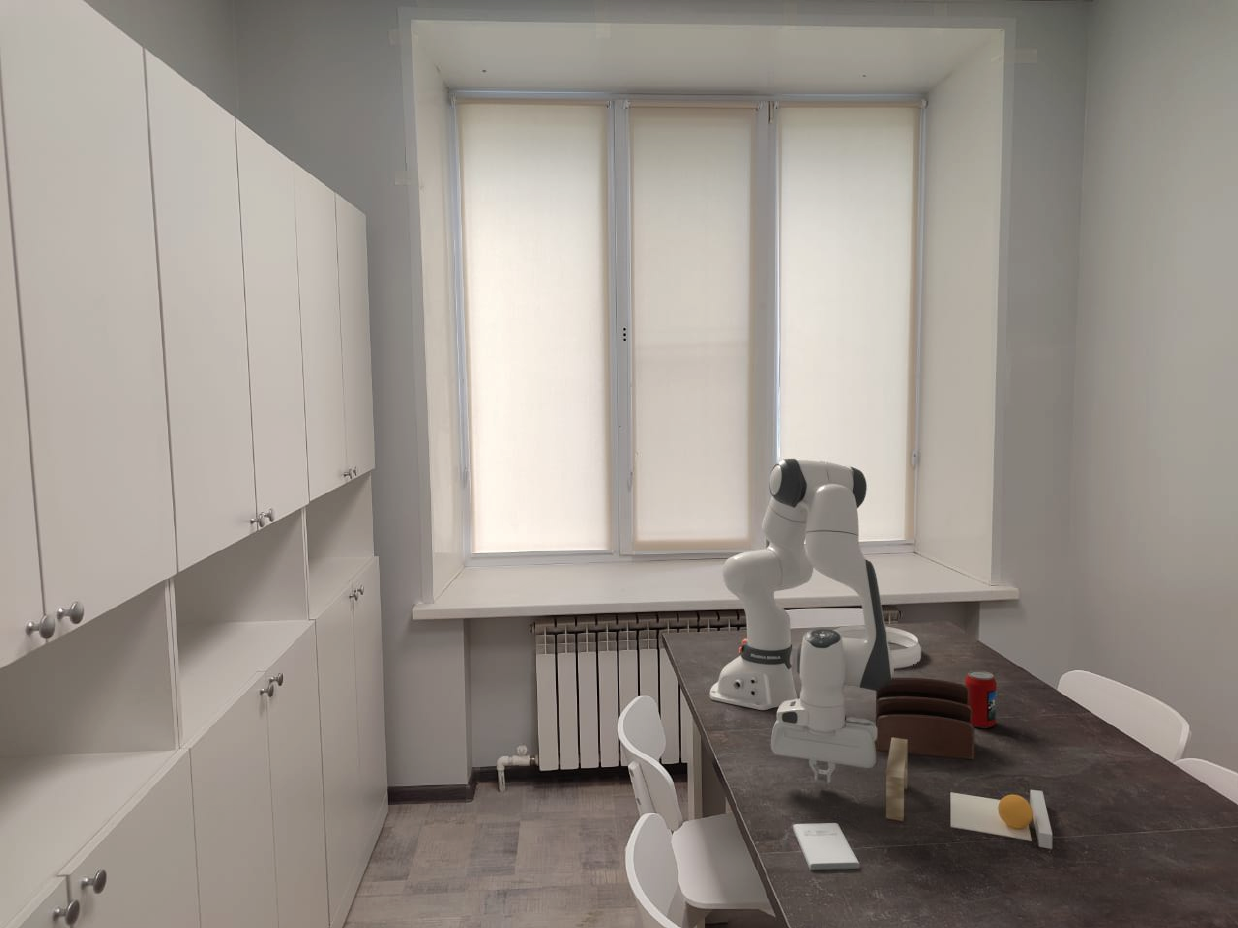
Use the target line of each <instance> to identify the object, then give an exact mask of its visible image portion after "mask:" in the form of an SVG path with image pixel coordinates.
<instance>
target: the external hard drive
mask: <svg viewBox="0 0 1238 928" xmlns="http://www.w3.org/2000/svg"><path fill="white" fill-rule="evenodd" d="M792 830H793V832H794V835H795V838H796V840H797V841H798V844H799V846H800V849H801V852H802V854H803V856H804V858H805V861H806V862H807V863H806V864H807V865H808V868H809V870H810V871H816V870H818V871H819V870H849V869H850V870H852V869H853V870H855V869H856V870H857V869H860V862H859V861H858V859H857V856H856V854H855V853H854V851H853V849H852V847H851V846H850V844H849V842H848V840H847V838H846V836H845V834H844V833H843V831H842V829H841V827H840V826H839V824H838V823H836V822H829V823H796V824H793V825H792Z"/></svg>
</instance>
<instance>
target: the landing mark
mask: <svg viewBox="0 0 1238 928" xmlns="http://www.w3.org/2000/svg"><path fill="white" fill-rule="evenodd" d="M949 798H950V799H949V801H950V828H955V829H960V830H966V831H972V832H978V833H982V834H983V833H984V834H989V835H996V836H1000V837H1007V838H1013V839H1018V840H1023V841H1030V842H1032V840H1033V839H1032V835H1031V829H1030V824H1029V825H1028V826H1027V827H1024V828H1013V827H1010V826H1009V825H1007V824H1006V823H1005V822H1004V821H1003V820H1002V819H1001V817H1000V815H999V811H998V806H999V803H1000V801H1001V799H996V798H990V797H982V796H978V795H977V796H975V795H969V794H965V793H963V794H962V793H957V792H952V791H951V792H950V797H949Z"/></svg>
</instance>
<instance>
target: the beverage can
mask: <svg viewBox="0 0 1238 928" xmlns="http://www.w3.org/2000/svg"><path fill="white" fill-rule="evenodd" d="M964 681H965V682H964V685H965V686H967V687H968V689H969V706H970V707H971V709H972V722H971V724H972V725H973V726H974V728H975V727H976V728H979V727H980V728H979V729H987V728H988V727H989V728H991V727H993V726H995V725H996V723H997V696H998V695H997V688H998V687H997V685H998V684H997V683H998V682H997V680H996V679H995V676H994V674H992V673H991V672H990V671H989V672H988V671H985V670H979V669H978V670H977V669H976V670H971V671H969V672H968V674H967V675H966V677H965V679H964Z"/></svg>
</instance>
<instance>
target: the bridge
mask: <svg viewBox="0 0 1238 928" xmlns="http://www.w3.org/2000/svg"><path fill="white" fill-rule="evenodd" d="M907 742H908V740H906V739H899V738H891V744H890V750H889V751H888V755H887V764H886V767H885V768H886V769H885V775H886V776H885V779H886V780H885V781H886V782H885V796H886V797H885V819H891V820H896V821H900V822H901V821H902V822H904V818H905V811H904V810H905V790H907V789H908V753H907Z"/></svg>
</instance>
